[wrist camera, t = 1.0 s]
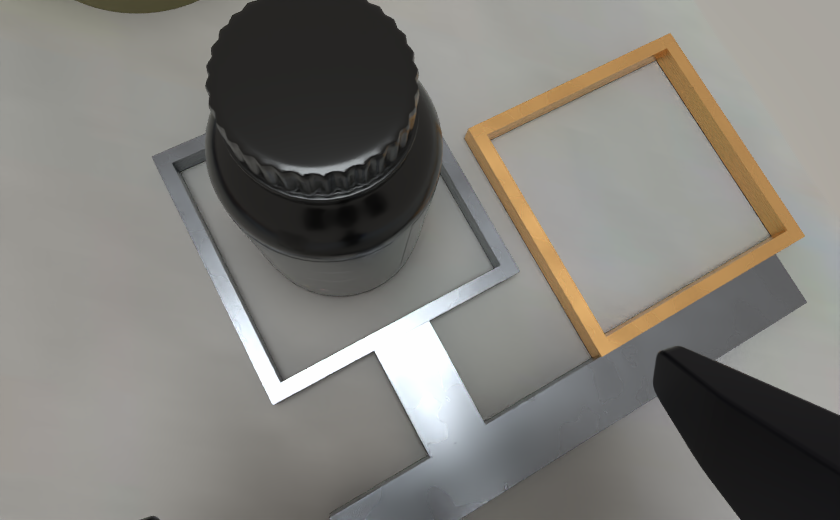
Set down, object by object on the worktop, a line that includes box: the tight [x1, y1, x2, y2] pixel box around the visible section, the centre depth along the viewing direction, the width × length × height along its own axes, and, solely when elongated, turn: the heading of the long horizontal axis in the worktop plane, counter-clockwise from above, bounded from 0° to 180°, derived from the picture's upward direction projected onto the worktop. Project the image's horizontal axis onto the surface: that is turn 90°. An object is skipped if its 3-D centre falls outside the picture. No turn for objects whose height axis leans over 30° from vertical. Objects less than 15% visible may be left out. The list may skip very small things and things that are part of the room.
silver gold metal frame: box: [152, 33, 807, 520], centre depth 24 cm, size 18×24×1 cm
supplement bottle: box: [205, 0, 443, 296], centre depth 18 cm, size 7×7×12 cm
